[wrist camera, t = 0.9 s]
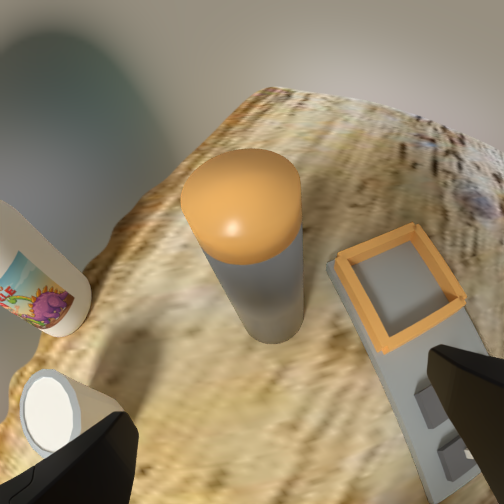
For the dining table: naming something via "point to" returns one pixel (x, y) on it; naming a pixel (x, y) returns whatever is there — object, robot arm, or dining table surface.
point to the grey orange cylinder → (252, 236)
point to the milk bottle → (39, 278)
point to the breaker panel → (411, 341)
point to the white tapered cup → (60, 410)
